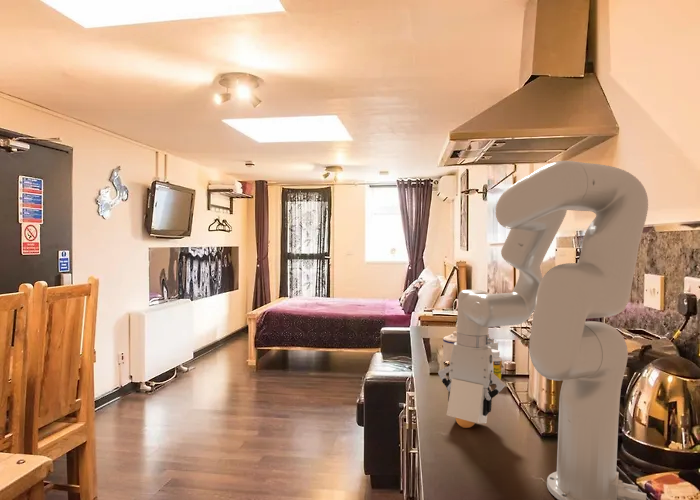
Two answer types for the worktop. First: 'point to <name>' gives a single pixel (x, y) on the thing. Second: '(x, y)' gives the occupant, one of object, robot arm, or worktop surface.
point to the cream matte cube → (466, 401)
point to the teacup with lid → (448, 346)
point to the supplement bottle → (497, 363)
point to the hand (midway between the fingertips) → (469, 409)
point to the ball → (464, 423)
